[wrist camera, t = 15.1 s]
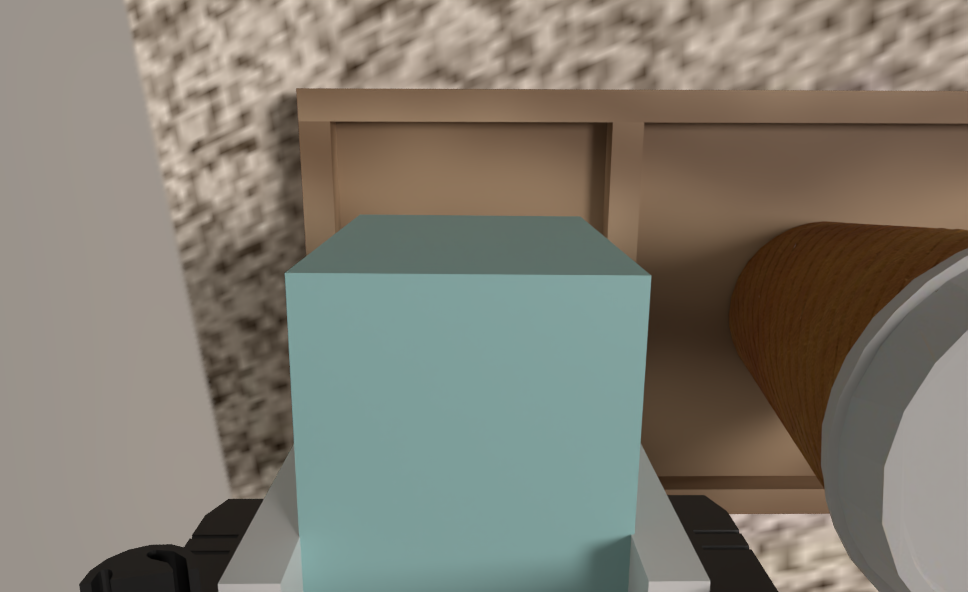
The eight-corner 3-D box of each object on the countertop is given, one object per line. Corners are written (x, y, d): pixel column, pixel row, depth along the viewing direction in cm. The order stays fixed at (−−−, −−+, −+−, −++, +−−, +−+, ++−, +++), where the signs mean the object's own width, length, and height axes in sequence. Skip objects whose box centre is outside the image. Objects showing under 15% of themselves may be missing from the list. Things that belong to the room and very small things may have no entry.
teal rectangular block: (359, 214, 15) (284, 273, 9) (580, 216, 15) (651, 275, 9) (371, 638, 17) (319, 908, 11) (562, 638, 17) (610, 906, 11)
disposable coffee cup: (630, 349, 26) (758, 544, 14) (794, 119, 24) (1098, 125, 12) (835, 475, 27) (1105, 747, 16) (1006, 267, 25) (1460, 400, 14)
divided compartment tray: (313, 90, 25) (296, 88, 22) (1040, 93, 25) (1100, 91, 23) (334, 481, 29) (321, 515, 26) (967, 479, 29) (1012, 512, 27)
